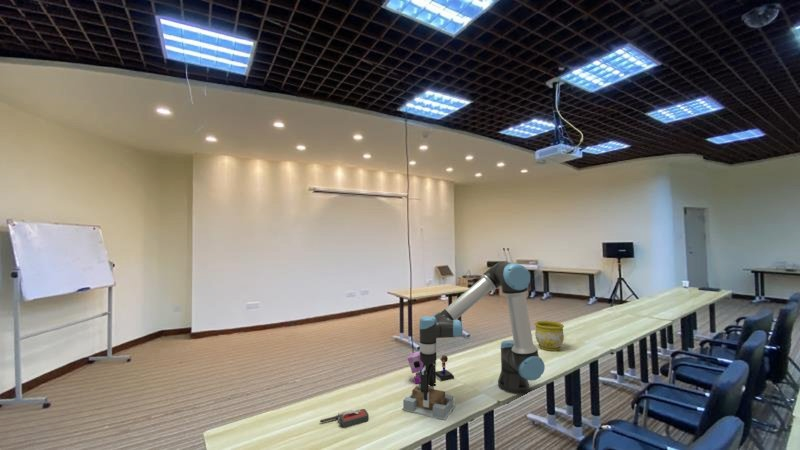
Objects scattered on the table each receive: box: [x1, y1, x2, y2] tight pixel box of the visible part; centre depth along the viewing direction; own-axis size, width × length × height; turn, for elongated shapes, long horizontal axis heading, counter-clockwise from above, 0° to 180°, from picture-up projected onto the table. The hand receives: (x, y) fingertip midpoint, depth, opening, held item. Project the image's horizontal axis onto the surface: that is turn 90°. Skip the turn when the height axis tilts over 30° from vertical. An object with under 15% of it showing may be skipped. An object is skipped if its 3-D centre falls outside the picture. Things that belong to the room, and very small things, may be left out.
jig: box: [401, 393, 456, 421], centre depth 155 cm, size 20×13×4 cm, turn 63°
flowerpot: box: [534, 320, 565, 352], centre depth 235 cm, size 18×18×16 cm
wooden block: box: [411, 384, 446, 410], centre depth 155 cm, size 14×5×8 cm, turn 64°
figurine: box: [436, 354, 455, 382], centre depth 188 cm, size 8×8×12 cm
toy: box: [407, 350, 423, 384], centre depth 184 cm, size 11×8×15 cm
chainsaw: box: [319, 408, 370, 428], centre depth 144 cm, size 9×4×20 cm
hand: (428, 403), depth 155 cm, fingers open, 5 cm apart
